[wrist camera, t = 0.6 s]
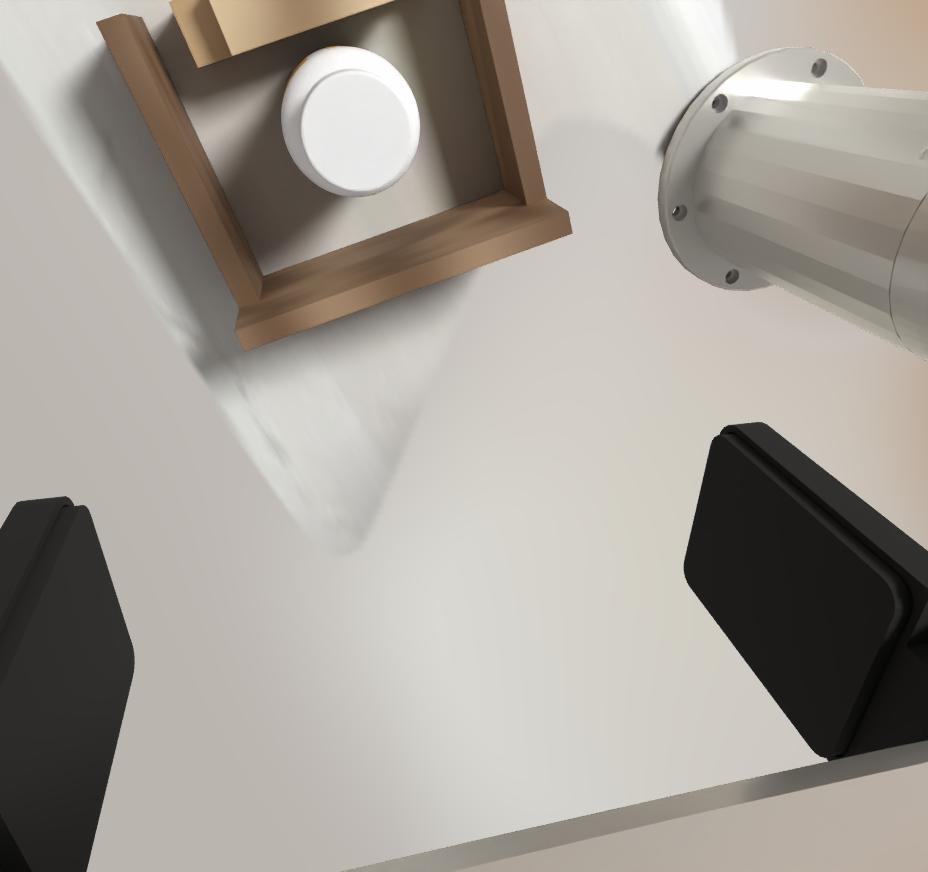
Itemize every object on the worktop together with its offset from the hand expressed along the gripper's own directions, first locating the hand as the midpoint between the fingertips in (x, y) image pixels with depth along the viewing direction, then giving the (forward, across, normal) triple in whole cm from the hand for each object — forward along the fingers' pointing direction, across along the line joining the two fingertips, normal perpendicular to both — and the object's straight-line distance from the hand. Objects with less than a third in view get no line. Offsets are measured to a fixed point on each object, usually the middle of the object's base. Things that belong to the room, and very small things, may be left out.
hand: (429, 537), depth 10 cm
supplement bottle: (+28, -1, -4) cm, 28 cm away
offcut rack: (+28, -1, -4) cm, 28 cm away
